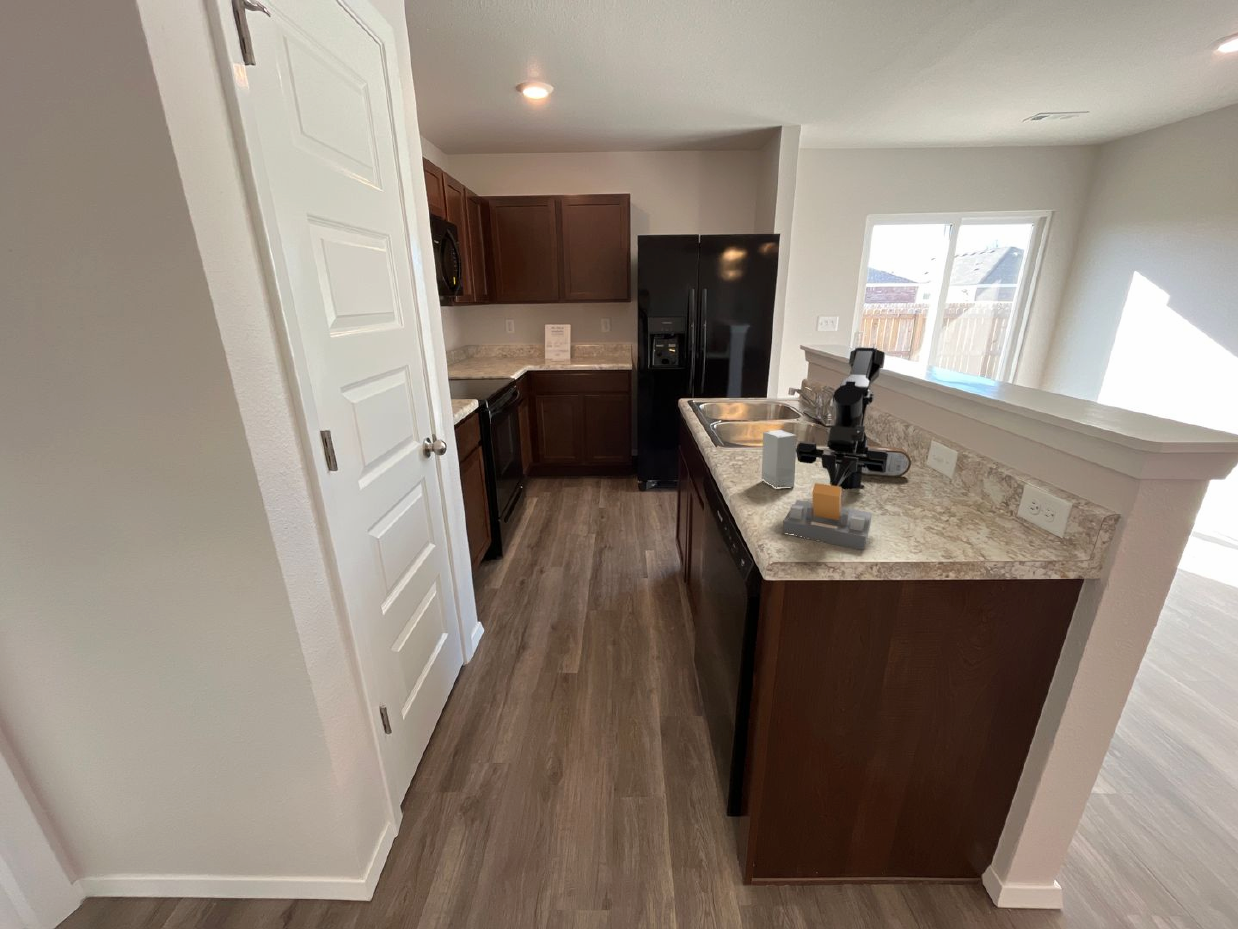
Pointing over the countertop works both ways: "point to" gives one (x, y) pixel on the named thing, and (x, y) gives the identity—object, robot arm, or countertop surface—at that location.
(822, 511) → the lever
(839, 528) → the box
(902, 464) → the tin
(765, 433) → the skincare box
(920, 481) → the countertop surface
